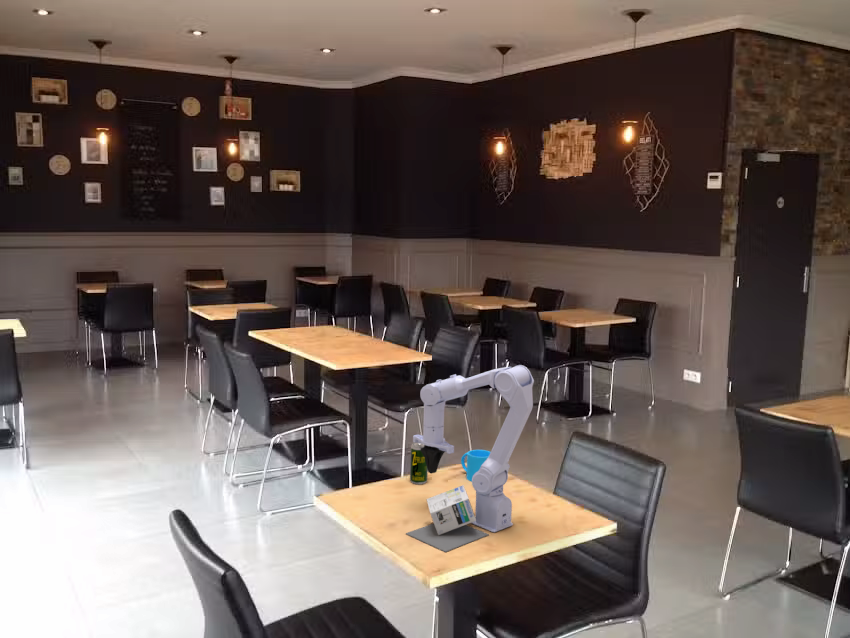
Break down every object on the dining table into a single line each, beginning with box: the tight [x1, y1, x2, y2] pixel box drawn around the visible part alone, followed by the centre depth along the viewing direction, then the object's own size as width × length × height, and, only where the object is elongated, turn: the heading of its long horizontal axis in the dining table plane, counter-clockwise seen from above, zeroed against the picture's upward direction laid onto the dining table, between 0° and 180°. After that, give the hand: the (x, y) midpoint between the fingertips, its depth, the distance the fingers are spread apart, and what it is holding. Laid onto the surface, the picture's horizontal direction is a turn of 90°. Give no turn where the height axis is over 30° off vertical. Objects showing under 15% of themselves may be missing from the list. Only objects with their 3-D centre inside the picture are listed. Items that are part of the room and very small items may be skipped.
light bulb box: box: [425, 484, 476, 535], centre depth 209 cm, size 11×7×11 cm
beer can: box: [409, 442, 429, 485], centre depth 245 cm, size 5×5×12 cm
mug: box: [460, 449, 491, 483], centre depth 251 cm, size 12×8×8 cm
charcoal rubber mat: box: [405, 522, 490, 553], centre depth 206 cm, size 14×16×1 cm
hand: (432, 472), depth 223 cm, fingers closed
